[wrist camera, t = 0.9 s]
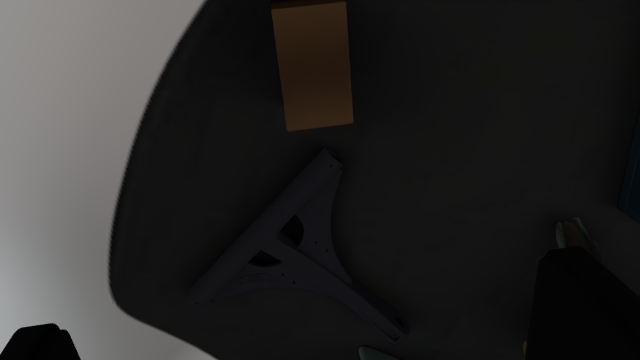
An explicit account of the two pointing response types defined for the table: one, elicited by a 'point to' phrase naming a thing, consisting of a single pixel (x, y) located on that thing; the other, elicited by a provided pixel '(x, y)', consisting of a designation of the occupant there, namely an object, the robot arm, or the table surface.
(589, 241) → the bird figurine
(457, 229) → the table surface
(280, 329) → the table surface
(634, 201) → the tray
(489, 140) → the table surface
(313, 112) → the brown wooden block
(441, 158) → the table surface
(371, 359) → the planter
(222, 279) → the bracket
